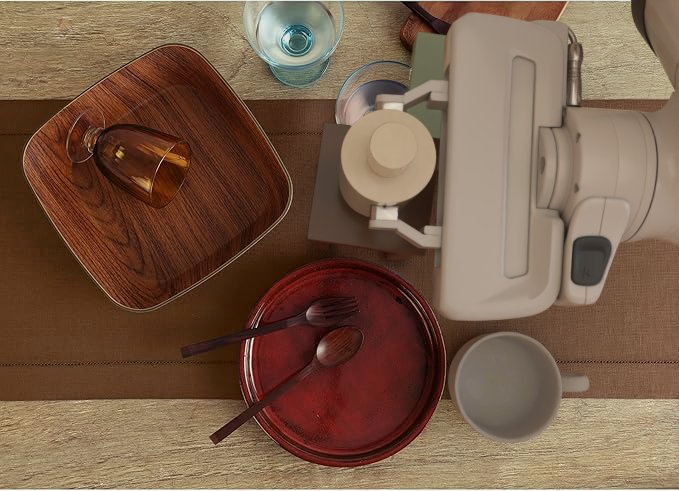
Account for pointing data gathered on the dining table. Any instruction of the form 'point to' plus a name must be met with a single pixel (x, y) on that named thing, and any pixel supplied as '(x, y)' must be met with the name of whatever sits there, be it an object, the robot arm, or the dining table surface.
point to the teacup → (509, 386)
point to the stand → (350, 226)
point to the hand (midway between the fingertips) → (372, 163)
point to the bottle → (385, 160)
